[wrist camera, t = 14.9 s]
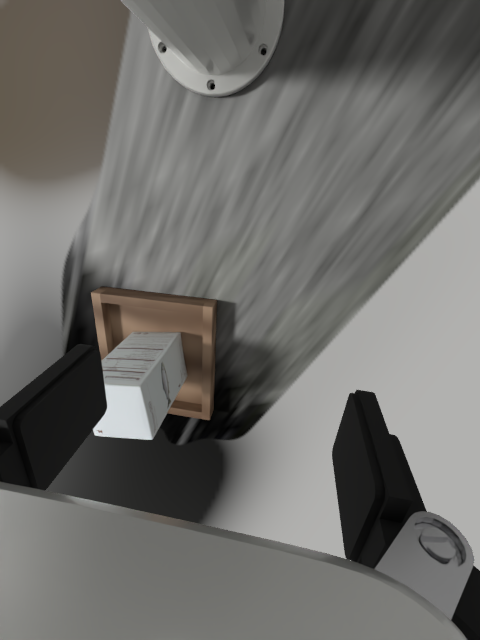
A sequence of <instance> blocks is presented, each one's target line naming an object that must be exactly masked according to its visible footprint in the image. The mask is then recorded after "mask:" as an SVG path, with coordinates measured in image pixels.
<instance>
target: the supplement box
mask: <svg viewBox="0 0 480 640" xmlns="http://www.w3.org/2000/svg"><path fill="white" fill-rule="evenodd" d="M102 369H103V377H104V385H105V392H106V400H107V410H106V412H105V414H104V416H103V417H102V418H101V420H100V421H99V422H98V424H97V425H96V426H95V427H94V429H93V431H94V435H96V436H105V437H118V438H133V439H146V440H152V439H153V438H154V436H155V434H156V432H157V430H158V429H159V427H160V425H161V423H162V421H163V419H164V418H165V416H166V414H167V412H168V410H169V409H170V407H171V405H172V403H173V401H174V400H175V398H176V396H177V394H178V392H179V391H180V389H181V387H182V385H183V383H184V382H185V380H186V378H187V371H186V366H185V361H184V354H183V347H182V340H181V333H180V332H132V333H131V334H130V335H129V336H128V337H127V338H126V339H125V340H123V341H122V342H121V343H120V344H119V345H118V346H117V347H116V348H115V349H114V350H113V351H112V352H111V353H109V354H108V355H107V356H106V357H105V358H104V359H103V360H102Z"/></svg>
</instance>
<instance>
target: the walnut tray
mask: <svg viewBox="0 0 480 640" xmlns="http://www.w3.org/2000/svg"><path fill="white" fill-rule="evenodd" d="M91 296H92V302H93V309H94V316H95V322H96V329H97V336H98V342H99V349H100V354H101V361H102V360H103V359H104V358H105V357H106V356H107V355H108V354H109V353H111V352H112V351H113V350H114V349H115V348H116V347H117V346H118V345H119V344H120V343H121V342H122V341H123V340H125V339H126V338H127V337H128V336H129V335H130V334H131V333H132V332H180V333H181V340H182V347H183V354H184V361H185V366H186V371H187V378H186V380H185V382H184V383H183V385H182V387H181V389H180V391H179V392H178V394H177V396H176V398H175V400H174V401H173V403H172V405H171V407H170V409H169V410H168V412H167V413H169V414H175V415H181V416H187V417H193V418H199V419H206V420H210V418H211V415H212V412H213V409H214V382H215V351H216V320H217V300H213V299H204V298H196V297H187V296H179V295H170V294H162V293H153V292H145V291H136V290H128V289H119V288H111V287H100V288H98V289H96V290H95V291H93V292H91Z"/></svg>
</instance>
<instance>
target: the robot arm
mask: <svg viewBox="0 0 480 640" xmlns="http://www.w3.org/2000/svg"><path fill="white" fill-rule="evenodd" d="M121 1H122V2H123V3H124V4H125V5H126V6H127V7H128V8H129V9H130V10H131V11H132V12H133V13H134V14H135V15H136V16H137V17H138V18H139V19H140V20H141V21H142V22H143V23H144V24H145V25H146V26H147V27H148V31H149V35H150V38H151V42H152V45H153V47H154V49H155V52H156V54H157V56H158V58H159V60H160V61H161V63H162V64H163V66H164V68H165V69H166V70H167V71H168V72H169V74H170V75H171V76H172V77H173V78H174V79H175V80H176V81H177V82H179V83H180V84H181V85H182V86H184V87H185V88H187V89H189V90H190V91H192V92H194V93H197V94H200V95H203V96H209V97H221V96H228V95H231V94H233V93H236V92H238V91H240V90H242V89H243V88H245V87H246V86H248V85H250V84H251V83H252V82H253V81H254V80H255V79H256V78H257V77H258V76H259V75H260V74H261V73H262V71H263V70H264V68H265V67H266V66H267V64H268V63H269V61H270V59H271V57H272V55H273V53H274V51H275V49H276V47H277V43H278V40H279V37H280V34H281V30H282V24H283V18H284V0H121ZM165 48H167V50H166V52H165V53H164V49H165ZM263 50H266V51H267V52H266V54H265V55H262V54H261V52H262V51H263ZM213 84H214V85H215V89H214V90H211V85H213ZM106 410H107V400H106V392H105V385H104V377H103V369H102V361H101V354H100V352H99V351H97V349H96V347H94V346H89V345H83V344H78V345H77V346H75V347H74V348H73V349H72V350H70V351H69V352H68V353H67V354H65V355H64V356H63V357H62V358H60V359H59V360H58V361H57V362H55V363H54V364H53V365H52V366H51V367H49V368H48V369H47V370H46V371H44V372H43V373H42V374H41V375H39V376H38V377H37V378H36V379H34V380H33V381H32V382H31V383H30V384H28V385H27V386H26V387H24V388H23V389H22V390H21V391H19V392H18V393H17V394H16V395H15V396H13V397H12V398H11V399H10V400H8V401H7V402H6V403H5V404H3V405H2V406H1V407H0V640H480V571H479V570H478V569H477V568H476V567H475V566H473V563H474V556H473V552H472V549H471V547H470V545H469V544H468V541H467V540H466V538H465V537H464V536H463V535H462V533H461V532H460V531H459V530H458V529H457V528H456V527H455V526H454V525H453V524H451V523H450V522H449V521H447V520H446V519H444V518H442V517H441V516H439V515H436V514H434V513H431V512H427V511H426V509H425V506H424V503H423V501H422V498H421V496H420V493H419V491H418V488H417V485H416V483H415V480H414V478H413V475H412V472H411V470H410V467H409V465H408V462H407V460H406V457H405V454H404V452H403V449H402V446H401V444H400V441H399V440H398V438H397V437H396V436H395V435H391V434H389V432H388V429H387V426H386V424H385V421H384V418H383V415H382V412H381V409H380V407H379V404H378V401H377V398H376V395H375V393H373V392H367V391H361V390H356V392H355V394H354V393H350V394H349V397H348V400H347V403H346V407H345V410H344V413H343V416H342V420H341V423H340V426H339V430H338V433H337V436H336V439H335V443H334V446H333V451H332V459H333V466H334V474H335V482H336V489H337V496H338V504H339V511H340V520H341V527H342V534H343V543H344V550H345V556H346V558H347V559H348V560H347V559H344V558H340V557H337V556H333V555H330V554H327V553H322V552H318V551H314V550H310V549H306V548H302V547H297V546H293V545H290V544H285V543H281V542H277V541H273V540H268V539H264V538H260V537H255V536H251V535H246V534H242V533H237V532H233V531H228V530H224V529H220V528H215V527H211V526H206V525H201V524H197V523H193V522H188V521H183V520H179V519H175V518H169V517H165V516H161V515H156V514H152V513H147V512H143V511H138V510H133V509H129V508H124V507H120V506H115V505H110V504H106V503H101V502H96V501H92V500H87V499H82V498H78V497H73V496H68V495H63V494H58V493H54V492H49V491H45V490H46V489H47V488H48V487H49V485H50V484H51V483H52V481H53V480H54V479H55V478H56V476H57V475H58V474H59V472H60V471H61V470H62V469H63V467H64V466H65V465H66V463H67V462H68V461H69V459H70V458H71V457H72V456H73V454H74V453H75V452H76V451H77V449H78V448H79V447H80V445H81V444H82V443H83V442H84V440H85V439H86V438H87V436H88V435H89V434H90V433H91V431H92V430H93V429H94V427H95V426H96V425H97V424H98V422H99V421H100V420H101V418H102V417H103V416H104V414H105V412H106ZM350 560H352V561H350Z"/></svg>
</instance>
